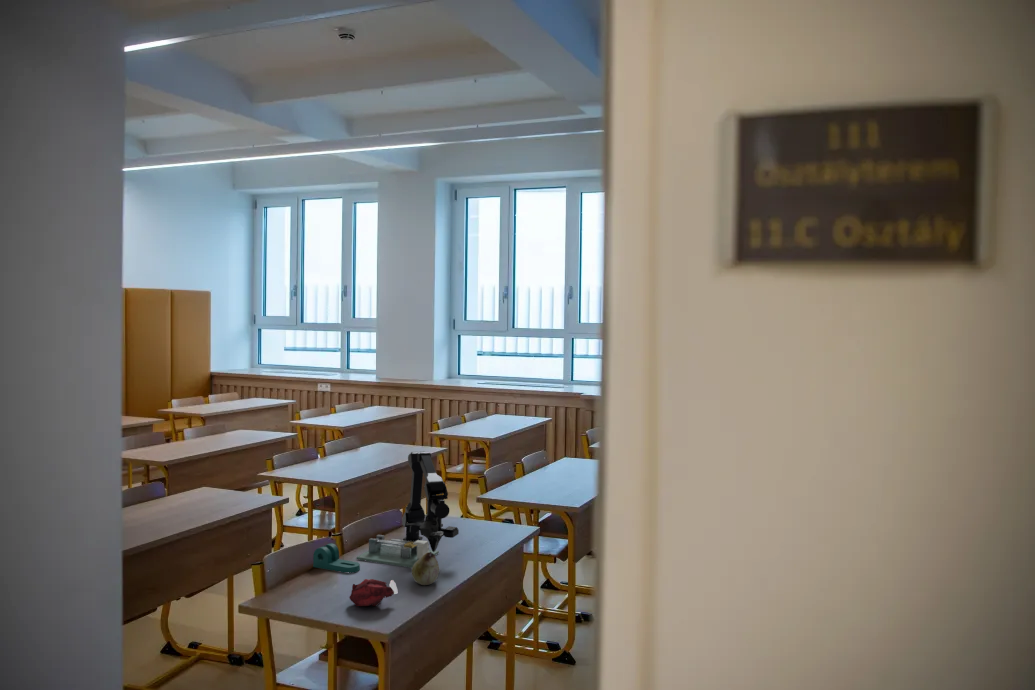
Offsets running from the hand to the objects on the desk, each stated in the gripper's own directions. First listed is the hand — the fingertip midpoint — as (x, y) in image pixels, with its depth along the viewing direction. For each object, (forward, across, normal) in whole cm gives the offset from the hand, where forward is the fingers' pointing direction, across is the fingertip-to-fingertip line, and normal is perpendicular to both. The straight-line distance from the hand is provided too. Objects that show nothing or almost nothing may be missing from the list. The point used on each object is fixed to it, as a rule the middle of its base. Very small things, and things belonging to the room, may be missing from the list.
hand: (433, 551), depth 287 cm
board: (+4, -16, 0) cm, 16 cm away
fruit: (+4, +8, -23) cm, 25 cm away
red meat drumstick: (+4, +2, -49) cm, 49 cm away
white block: (+3, -6, 0) cm, 6 cm away
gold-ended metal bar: (0, -17, 0) cm, 17 cm away
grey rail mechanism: (+3, -18, 0) cm, 18 cm away
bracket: (+4, -30, -21) cm, 37 cm away
